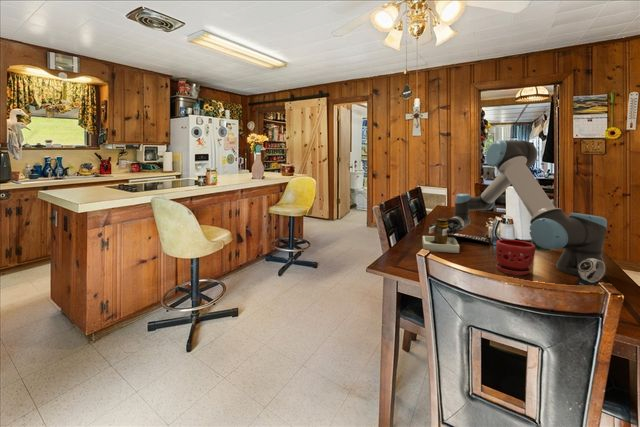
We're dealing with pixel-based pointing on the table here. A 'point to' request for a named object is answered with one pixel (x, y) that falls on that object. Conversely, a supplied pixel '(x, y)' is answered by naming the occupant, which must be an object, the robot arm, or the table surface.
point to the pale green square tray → (440, 245)
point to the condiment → (440, 232)
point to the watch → (590, 271)
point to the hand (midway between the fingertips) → (436, 231)
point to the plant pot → (514, 256)
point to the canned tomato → (539, 247)
